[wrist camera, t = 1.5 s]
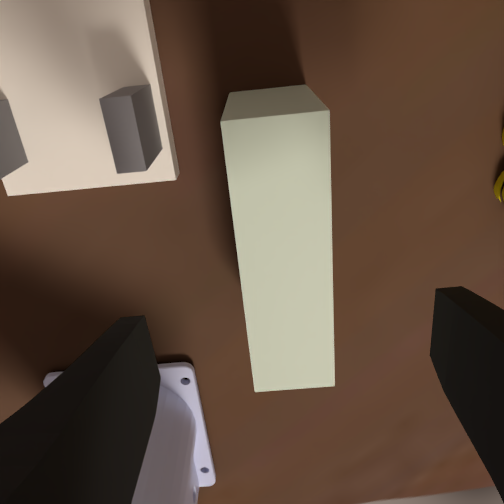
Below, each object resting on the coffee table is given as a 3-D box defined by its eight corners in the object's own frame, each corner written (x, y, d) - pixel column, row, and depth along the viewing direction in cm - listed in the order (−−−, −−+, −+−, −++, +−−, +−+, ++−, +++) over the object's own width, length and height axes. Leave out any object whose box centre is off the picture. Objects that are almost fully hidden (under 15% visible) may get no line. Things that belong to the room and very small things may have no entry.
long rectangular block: (314, 298, 22) (334, 385, 17) (253, 303, 22) (254, 392, 17) (305, 83, 18) (329, 110, 12) (229, 92, 18) (220, 121, 12)
